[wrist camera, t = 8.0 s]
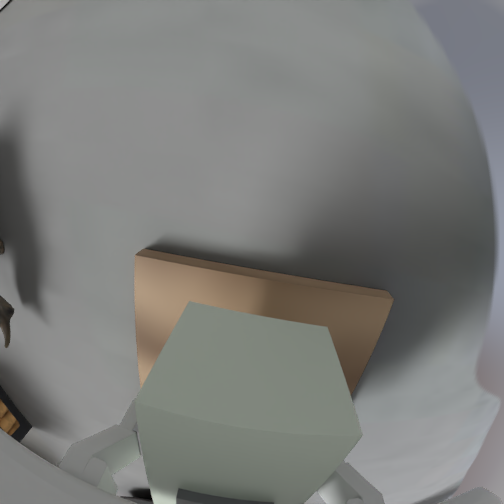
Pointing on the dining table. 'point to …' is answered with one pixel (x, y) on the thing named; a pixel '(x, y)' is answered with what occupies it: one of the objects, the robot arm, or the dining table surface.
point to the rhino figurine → (5, 312)
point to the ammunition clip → (12, 418)
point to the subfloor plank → (254, 305)
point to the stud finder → (243, 410)
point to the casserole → (139, 500)
